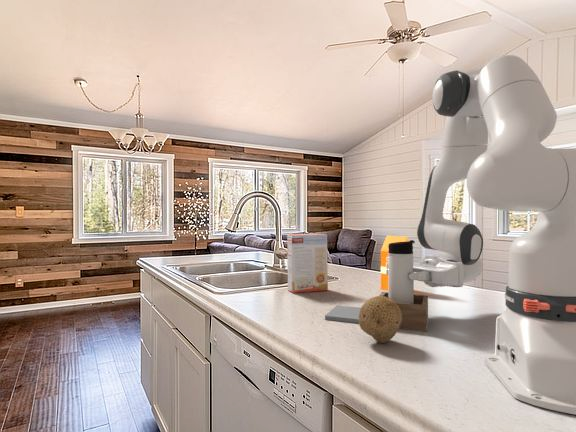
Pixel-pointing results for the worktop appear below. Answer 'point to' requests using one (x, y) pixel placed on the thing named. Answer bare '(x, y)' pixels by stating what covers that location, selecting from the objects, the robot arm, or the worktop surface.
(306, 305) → the worktop surface
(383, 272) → the orange juice
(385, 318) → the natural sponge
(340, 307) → the mat
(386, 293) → the wooden box
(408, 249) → the travel mug
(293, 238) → the cracker box
